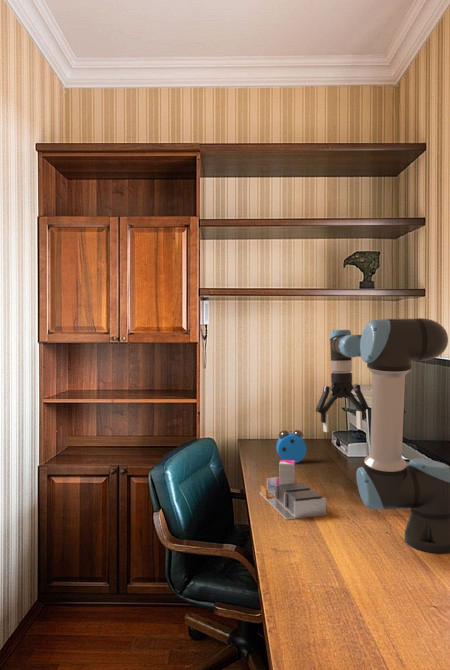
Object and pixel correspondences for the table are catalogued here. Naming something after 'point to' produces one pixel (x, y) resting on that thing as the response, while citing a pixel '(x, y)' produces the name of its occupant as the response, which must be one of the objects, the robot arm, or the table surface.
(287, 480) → the supplement box
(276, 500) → the rack
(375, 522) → the table surface
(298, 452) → the alarm clock
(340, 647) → the table surface
